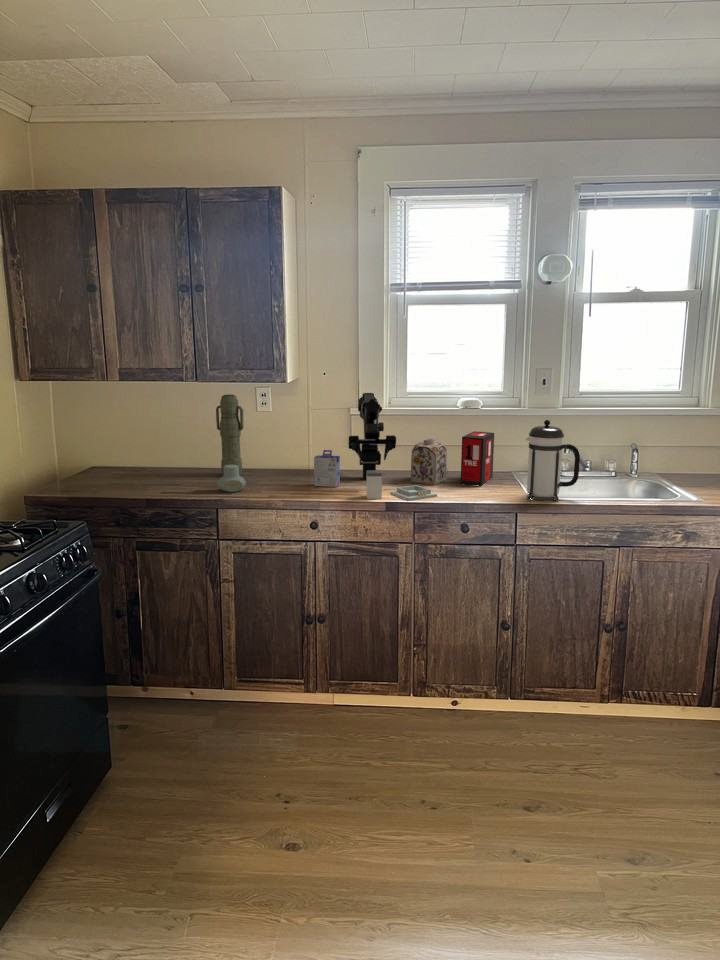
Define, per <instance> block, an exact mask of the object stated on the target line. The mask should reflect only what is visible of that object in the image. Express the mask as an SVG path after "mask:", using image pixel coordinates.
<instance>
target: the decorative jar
mask: <svg viewBox="0 0 720 960" xmlns="http://www.w3.org/2000/svg"><path fill="white" fill-rule="evenodd" d="M447 459H448V457H447V448H446V447H445V445H444V444H442V443H441V442H436V439H435V438H424V439H423V441H421V442H418V443H415V444H414V446H413V448H412V449H411V459H410V461H411V462H410V482H411V483H415V484H416V483H417V484H426V485H432V486H433V485H434V486H436V485H438V484H440V482H441V483H442V482H444V480H445V481H446V480H447Z"/></svg>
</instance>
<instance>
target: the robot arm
mask: <svg viewBox="0 0 720 960" xmlns="http://www.w3.org/2000/svg"><path fill="white" fill-rule="evenodd" d="M357 411H358V412H359V417H360V418H361V419H362V422H363V438H360V437H359V435H349V436H348V449H349V450H351V451H354V452H355V453H356V455H357V456H358V458H359V459H358V460H359V462H358V463H359V466H362V476H361V477H359V479H360V480H367V470H377V466H380V465H381V463H382V462H381V461H382V453H381V452H380V450H379V445H381V446H382V445H385V446H384V452H383V460H384V461H386V460H387V456H388V454H389V452H390V451H392V450H394V449H395V448H397V446H396V445H397V436H396V435H391V434H390V435H389V434H388V435H385V438H380V437H381V433H380V432H384V428H385V426H384V425H385V424H384V422H379V418H380V417H379V416H380V414H381V412H382V411H383V407H382V406H381V404H379V401H378V399H377V398H376V397H375V394H374V393H373V392H363V393H362V396H360V397H359V398H358V401H357Z"/></svg>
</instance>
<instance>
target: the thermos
mask: <svg viewBox="0 0 720 960" xmlns="http://www.w3.org/2000/svg"><path fill="white" fill-rule="evenodd" d="M219 409H220V410H219ZM215 418H216V419H215V421H216V430H218V431H219V436H220V437H221V462H220V467H221V477H223V476H224V466H226V465H238V466H239V476H241V477H242V475H243V471H242V470H243V461H242V457H241V434H242V432H241V431H243V429H244V428H245V427H244V409H243V407H242V406H241V405H239V400H238V397H237V395H235V394H222V395H221V398H220V403H219V405H217V406H216V408H215Z"/></svg>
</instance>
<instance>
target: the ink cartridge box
mask: <svg viewBox="0 0 720 960" xmlns="http://www.w3.org/2000/svg"><path fill="white" fill-rule="evenodd" d="M332 452H333V450H332V449H323V451H322V454H321V455H316V456H314V457H313V469H314V470H313V483H314V484H313V486H314V487H329V488H331V487H333V488H335V487H336V488H338V486H341V484H340V482H341V480H340V479H341V477H340V476H341V475H340V474H341V472H340V471H341V470H340V467H341V463H340V462H341V461H340V458H341V456H340V455H333V453H332Z"/></svg>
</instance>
